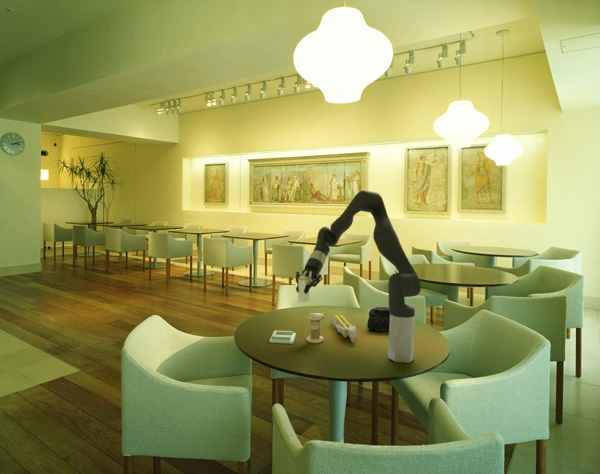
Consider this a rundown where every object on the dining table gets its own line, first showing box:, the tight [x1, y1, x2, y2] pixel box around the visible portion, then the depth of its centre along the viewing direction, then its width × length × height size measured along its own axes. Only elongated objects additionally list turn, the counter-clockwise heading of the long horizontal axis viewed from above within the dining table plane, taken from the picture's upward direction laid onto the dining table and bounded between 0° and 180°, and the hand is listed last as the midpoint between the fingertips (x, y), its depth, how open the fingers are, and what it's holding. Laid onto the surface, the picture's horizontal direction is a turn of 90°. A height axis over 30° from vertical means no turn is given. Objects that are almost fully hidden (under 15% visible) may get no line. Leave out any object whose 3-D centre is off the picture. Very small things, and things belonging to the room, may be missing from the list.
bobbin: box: [305, 312, 325, 344], centre depth 181 cm, size 8×8×11 cm
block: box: [297, 276, 310, 303], centre depth 188 cm, size 4×4×11 cm
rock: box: [366, 306, 390, 332], centre depth 200 cm, size 18×10×15 cm
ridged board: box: [269, 330, 297, 345], centre depth 182 cm, size 12×10×2 cm
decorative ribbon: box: [330, 314, 358, 343], centre depth 192 cm, size 8×6×30 cm
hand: (301, 292), depth 187 cm, fingers closed on block, 3 cm apart
